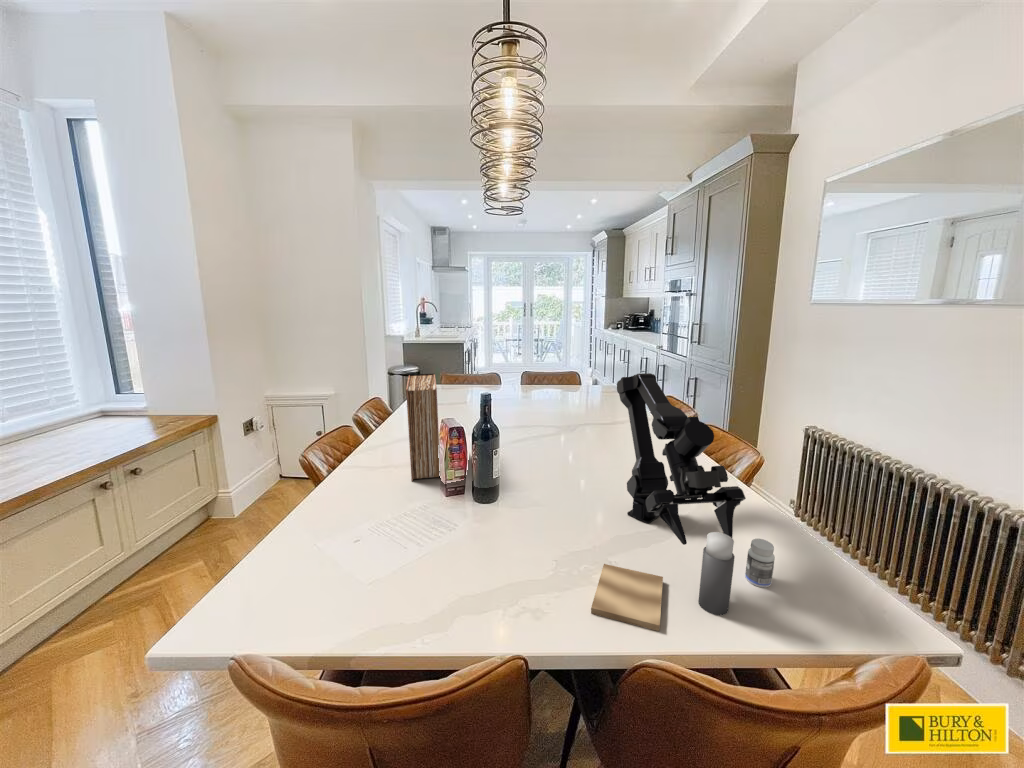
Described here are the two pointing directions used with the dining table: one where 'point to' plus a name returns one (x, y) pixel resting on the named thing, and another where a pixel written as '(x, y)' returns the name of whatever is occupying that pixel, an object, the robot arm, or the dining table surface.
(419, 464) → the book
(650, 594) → the serving board
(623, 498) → the dining table surface
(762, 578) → the pill bottle
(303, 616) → the dining table surface
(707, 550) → the pepper mill
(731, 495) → the robot arm
